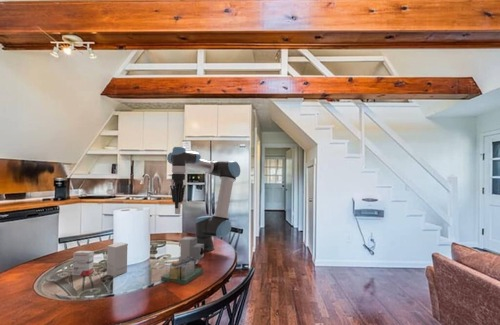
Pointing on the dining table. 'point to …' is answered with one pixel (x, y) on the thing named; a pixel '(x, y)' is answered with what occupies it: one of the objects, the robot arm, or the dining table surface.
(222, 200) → the robot arm
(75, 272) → the ink box
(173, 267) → the circuit board
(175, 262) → the silver elongated bar
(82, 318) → the dining table surface
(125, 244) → the skincare box
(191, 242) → the circuit breaker
